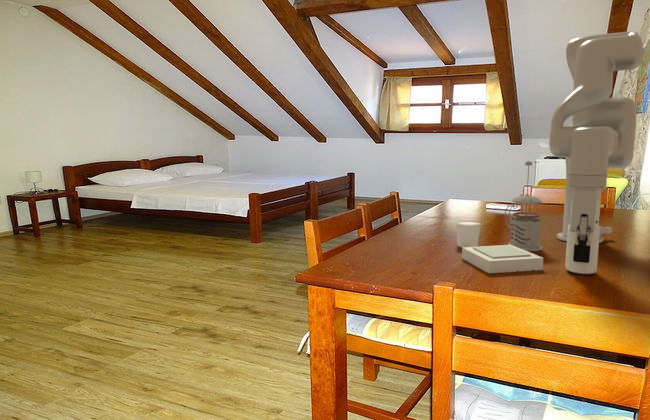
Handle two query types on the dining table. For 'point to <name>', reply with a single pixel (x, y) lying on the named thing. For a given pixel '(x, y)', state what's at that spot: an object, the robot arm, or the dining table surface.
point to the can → (594, 245)
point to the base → (502, 258)
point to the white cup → (467, 233)
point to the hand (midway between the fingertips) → (581, 257)
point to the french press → (525, 223)
